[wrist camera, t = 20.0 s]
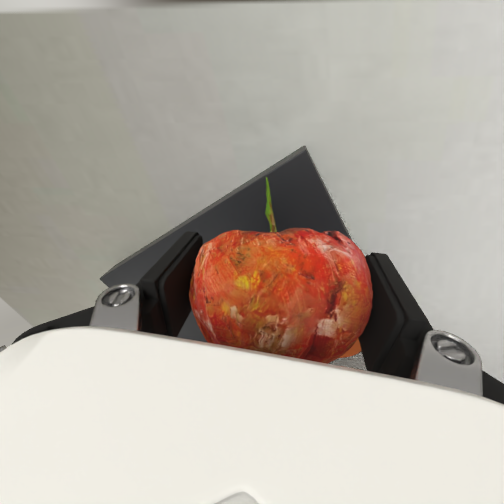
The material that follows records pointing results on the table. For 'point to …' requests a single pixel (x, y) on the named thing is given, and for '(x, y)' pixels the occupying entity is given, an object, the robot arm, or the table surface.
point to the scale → (245, 219)
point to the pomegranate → (282, 291)
